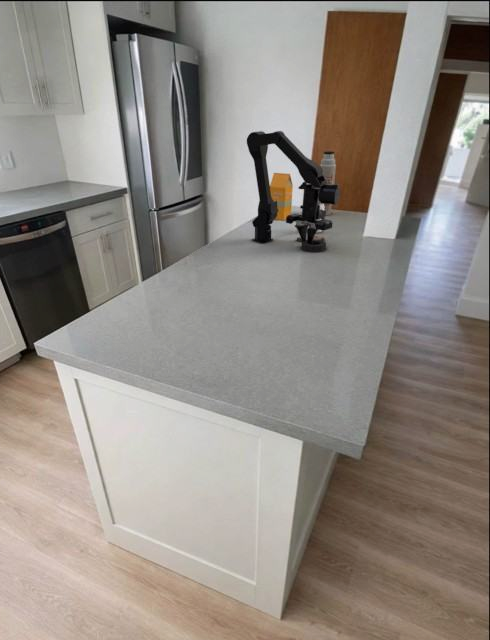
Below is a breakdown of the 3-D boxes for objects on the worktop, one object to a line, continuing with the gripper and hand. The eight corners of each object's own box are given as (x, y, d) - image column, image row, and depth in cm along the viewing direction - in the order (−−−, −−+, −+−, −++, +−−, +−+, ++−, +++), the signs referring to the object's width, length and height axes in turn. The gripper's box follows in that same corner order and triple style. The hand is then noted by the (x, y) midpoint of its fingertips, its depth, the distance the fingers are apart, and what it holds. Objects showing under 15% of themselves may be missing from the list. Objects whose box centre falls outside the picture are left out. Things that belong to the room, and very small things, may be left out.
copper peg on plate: (296, 240, 177) (298, 221, 173) (308, 236, 182) (310, 218, 177) (312, 244, 172) (314, 224, 168) (323, 240, 177) (326, 221, 173)
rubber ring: (296, 248, 168) (296, 243, 166) (311, 243, 173) (312, 238, 172) (315, 253, 162) (316, 247, 161) (330, 248, 167) (331, 242, 166)
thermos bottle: (330, 215, 213) (338, 152, 197) (314, 215, 214) (320, 152, 198) (330, 212, 220) (337, 150, 204) (314, 211, 221) (320, 150, 205)
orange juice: (283, 220, 206) (286, 175, 195) (268, 218, 210) (269, 173, 199) (290, 217, 212) (293, 172, 200) (275, 215, 216) (277, 171, 204)
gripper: (343, 202, 159) (337, 244, 168) (303, 196, 170) (300, 236, 179) (325, 207, 153) (321, 250, 162) (286, 200, 164) (283, 241, 173)
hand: (306, 244), depth 169 cm, fingers closed on rubber ring, 2 cm apart
